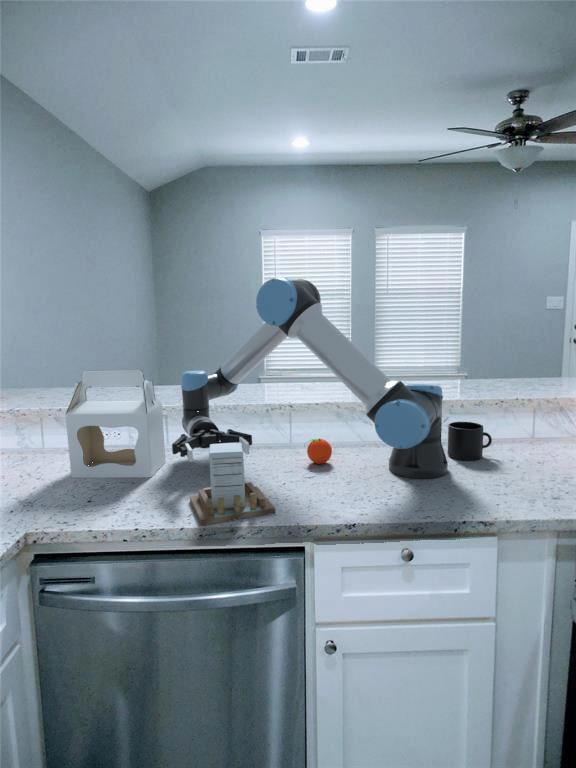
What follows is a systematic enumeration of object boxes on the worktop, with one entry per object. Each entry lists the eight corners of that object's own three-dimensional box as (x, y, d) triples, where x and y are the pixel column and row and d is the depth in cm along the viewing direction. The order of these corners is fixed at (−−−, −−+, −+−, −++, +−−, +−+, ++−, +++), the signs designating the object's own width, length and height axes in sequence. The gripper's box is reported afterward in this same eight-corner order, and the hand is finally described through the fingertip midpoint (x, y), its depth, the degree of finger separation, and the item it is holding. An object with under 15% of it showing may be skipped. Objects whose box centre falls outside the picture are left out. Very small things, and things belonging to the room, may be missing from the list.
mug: (495, 461, 140) (497, 429, 139) (451, 461, 142) (451, 429, 140) (486, 451, 149) (487, 421, 148) (444, 451, 151) (445, 421, 149)
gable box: (166, 462, 147) (160, 366, 143) (152, 477, 134) (145, 372, 130) (91, 463, 148) (83, 367, 144) (70, 478, 135) (60, 374, 131)
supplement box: (212, 496, 116) (209, 443, 114) (244, 494, 117) (242, 441, 115) (211, 509, 109) (208, 452, 107) (245, 507, 110) (243, 450, 108)
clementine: (301, 466, 141) (300, 441, 139) (306, 458, 147) (306, 434, 146) (329, 467, 138) (329, 442, 137) (334, 460, 145) (333, 436, 144)
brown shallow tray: (256, 491, 122) (256, 472, 122) (275, 513, 109) (274, 492, 109) (190, 501, 117) (189, 481, 116) (201, 525, 104) (199, 503, 103)
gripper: (247, 440, 145) (270, 460, 125) (157, 450, 137) (167, 474, 117) (246, 414, 144) (269, 431, 124) (155, 423, 135) (165, 443, 116)
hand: (220, 452), depth 120 cm, fingers open, 13 cm apart
